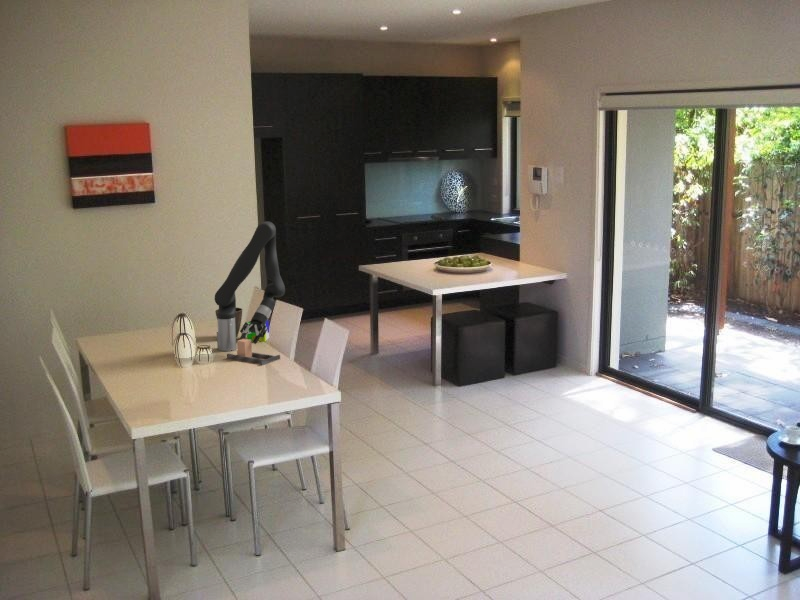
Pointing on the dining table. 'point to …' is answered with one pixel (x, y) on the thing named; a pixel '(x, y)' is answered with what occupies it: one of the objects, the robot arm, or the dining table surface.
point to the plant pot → (236, 319)
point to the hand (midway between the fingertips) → (247, 341)
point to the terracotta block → (244, 347)
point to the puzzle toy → (252, 335)
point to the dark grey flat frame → (253, 358)
